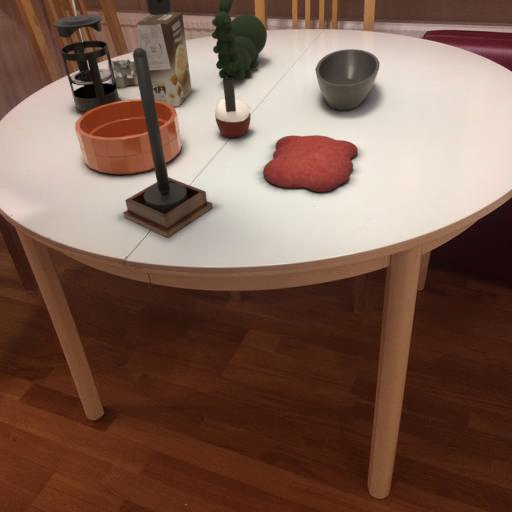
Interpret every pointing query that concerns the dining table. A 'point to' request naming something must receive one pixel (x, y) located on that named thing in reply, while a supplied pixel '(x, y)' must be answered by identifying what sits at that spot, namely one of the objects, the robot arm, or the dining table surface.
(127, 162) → the orange round dish
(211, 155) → the dining table surface
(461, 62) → the dining table surface
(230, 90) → the cocoa
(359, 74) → the bowl
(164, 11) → the robot arm
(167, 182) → the black plunger
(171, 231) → the small square brown tray
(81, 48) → the french press
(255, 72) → the dining table surface
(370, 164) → the dining table surface
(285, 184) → the patty
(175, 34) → the coffee box
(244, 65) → the green topiary foliage
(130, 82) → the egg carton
